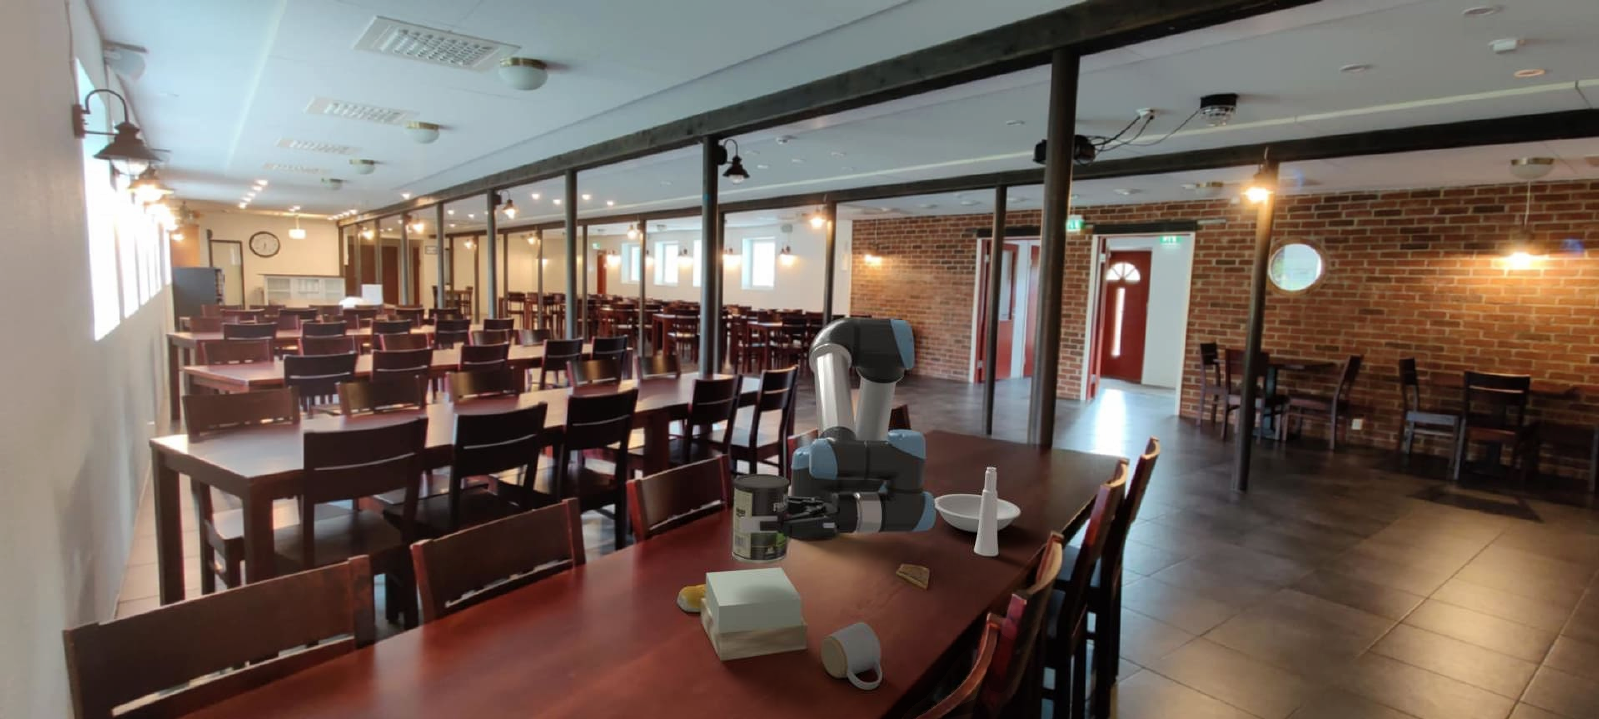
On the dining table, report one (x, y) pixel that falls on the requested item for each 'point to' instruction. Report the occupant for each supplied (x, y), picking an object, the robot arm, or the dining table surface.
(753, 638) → the birch block
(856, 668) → the ceramic mug
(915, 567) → the brown sandwich half
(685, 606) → the bread roll
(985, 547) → the cosmetic bottle
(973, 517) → the soup bowl
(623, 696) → the dining table surface
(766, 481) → the coffee can
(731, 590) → the sage block
